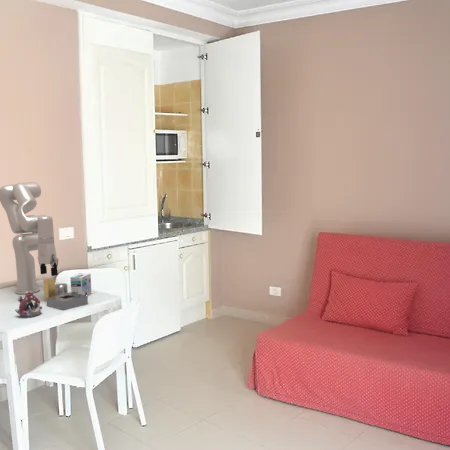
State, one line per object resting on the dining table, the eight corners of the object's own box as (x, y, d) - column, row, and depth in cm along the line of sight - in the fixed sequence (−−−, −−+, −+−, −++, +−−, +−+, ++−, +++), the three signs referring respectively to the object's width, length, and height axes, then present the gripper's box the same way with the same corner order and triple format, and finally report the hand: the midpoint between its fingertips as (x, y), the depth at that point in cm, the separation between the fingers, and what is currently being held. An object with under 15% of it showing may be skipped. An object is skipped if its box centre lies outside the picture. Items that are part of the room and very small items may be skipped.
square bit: (44, 300, 281) (43, 279, 279) (51, 299, 284) (50, 278, 282) (49, 302, 278) (47, 280, 277) (56, 300, 281) (54, 279, 280)
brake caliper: (29, 314, 246) (17, 292, 249) (17, 327, 251) (6, 304, 254) (49, 308, 255) (37, 287, 258) (38, 320, 261) (26, 299, 264)
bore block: (46, 305, 270) (46, 297, 270) (71, 299, 281) (70, 292, 280) (63, 310, 261) (62, 301, 261) (87, 303, 272) (87, 295, 271)
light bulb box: (83, 298, 284) (81, 277, 283) (71, 297, 286) (69, 277, 285) (92, 293, 295) (90, 273, 294) (80, 292, 296) (79, 273, 295)
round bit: (52, 296, 290) (51, 285, 289) (63, 293, 295) (62, 282, 294) (59, 298, 286) (58, 286, 285) (70, 295, 291) (69, 284, 290)
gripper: (30, 241, 280) (33, 274, 282) (49, 242, 269) (52, 277, 270) (43, 239, 286) (46, 272, 287) (62, 240, 274) (65, 274, 276)
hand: (49, 274), depth 279 cm, fingers open, 9 cm apart
